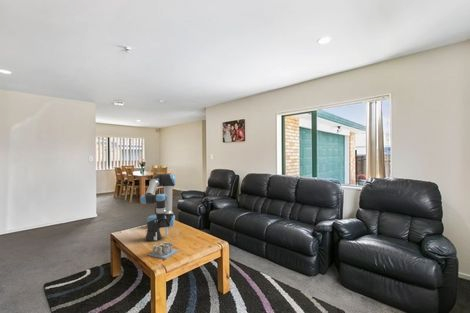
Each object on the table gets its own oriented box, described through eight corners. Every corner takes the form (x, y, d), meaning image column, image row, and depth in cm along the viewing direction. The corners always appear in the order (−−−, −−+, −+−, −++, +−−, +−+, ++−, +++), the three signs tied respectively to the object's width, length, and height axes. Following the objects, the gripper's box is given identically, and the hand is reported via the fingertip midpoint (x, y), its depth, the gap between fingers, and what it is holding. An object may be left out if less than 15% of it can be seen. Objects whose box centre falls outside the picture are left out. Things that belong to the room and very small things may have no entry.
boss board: (148, 255, 190) (148, 245, 190) (162, 248, 205) (162, 238, 205) (165, 259, 183) (165, 248, 183) (178, 251, 197) (178, 241, 197)
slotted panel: (152, 252, 192) (152, 245, 192) (161, 248, 202) (161, 241, 202) (161, 254, 188) (160, 247, 188) (169, 249, 198) (169, 243, 198)
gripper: (153, 216, 182) (153, 243, 182) (173, 209, 204) (174, 232, 205) (146, 215, 185) (146, 241, 185) (167, 208, 208) (167, 231, 208)
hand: (161, 237), depth 195 cm, fingers open, 13 cm apart
